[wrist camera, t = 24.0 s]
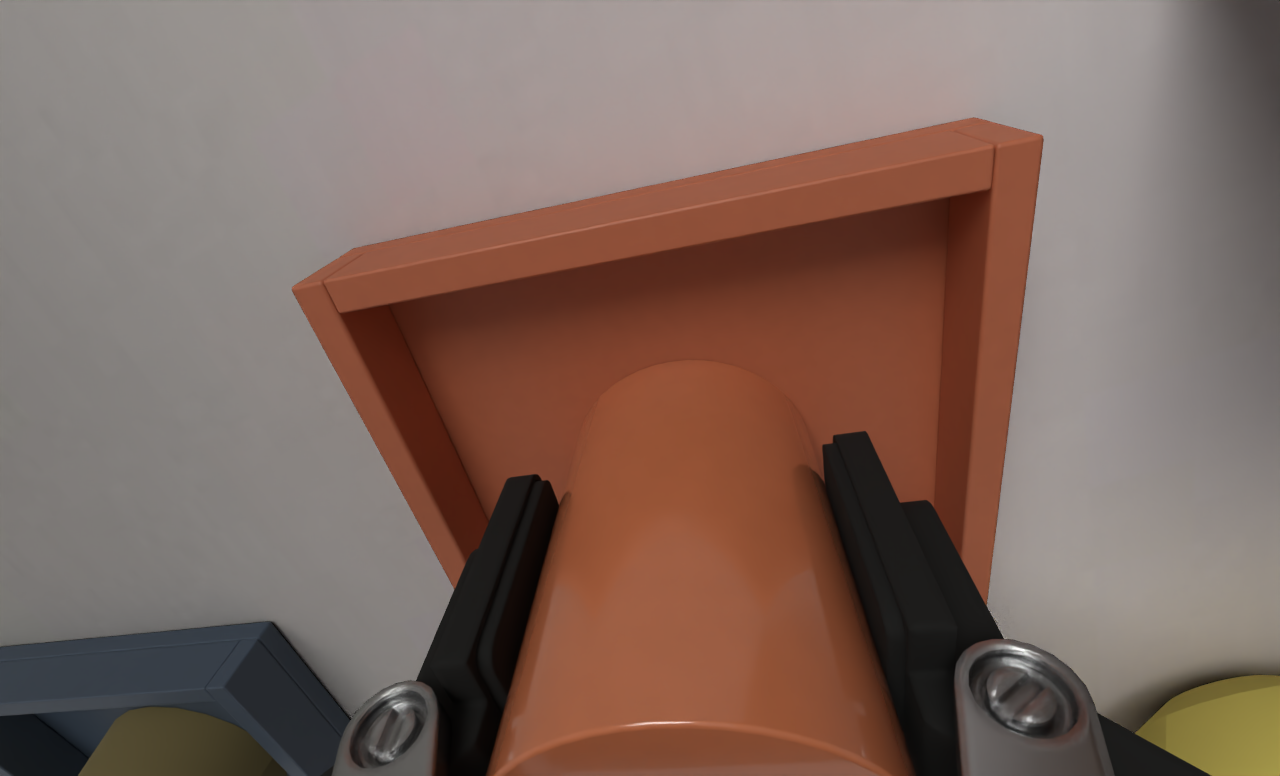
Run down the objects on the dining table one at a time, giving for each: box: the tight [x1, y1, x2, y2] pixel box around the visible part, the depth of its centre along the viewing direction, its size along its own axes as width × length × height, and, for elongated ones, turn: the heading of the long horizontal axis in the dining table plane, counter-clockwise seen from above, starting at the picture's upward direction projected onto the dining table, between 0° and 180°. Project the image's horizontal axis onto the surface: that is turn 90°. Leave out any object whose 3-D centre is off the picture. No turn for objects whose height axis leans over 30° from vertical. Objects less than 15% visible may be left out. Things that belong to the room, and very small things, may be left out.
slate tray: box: [0, 622, 350, 776], centre depth 20 cm, size 11×11×2 cm
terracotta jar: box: [486, 360, 917, 776], centre depth 9 cm, size 5×5×7 cm
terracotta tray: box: [292, 118, 1044, 606], centre depth 12 cm, size 11×11×2 cm
